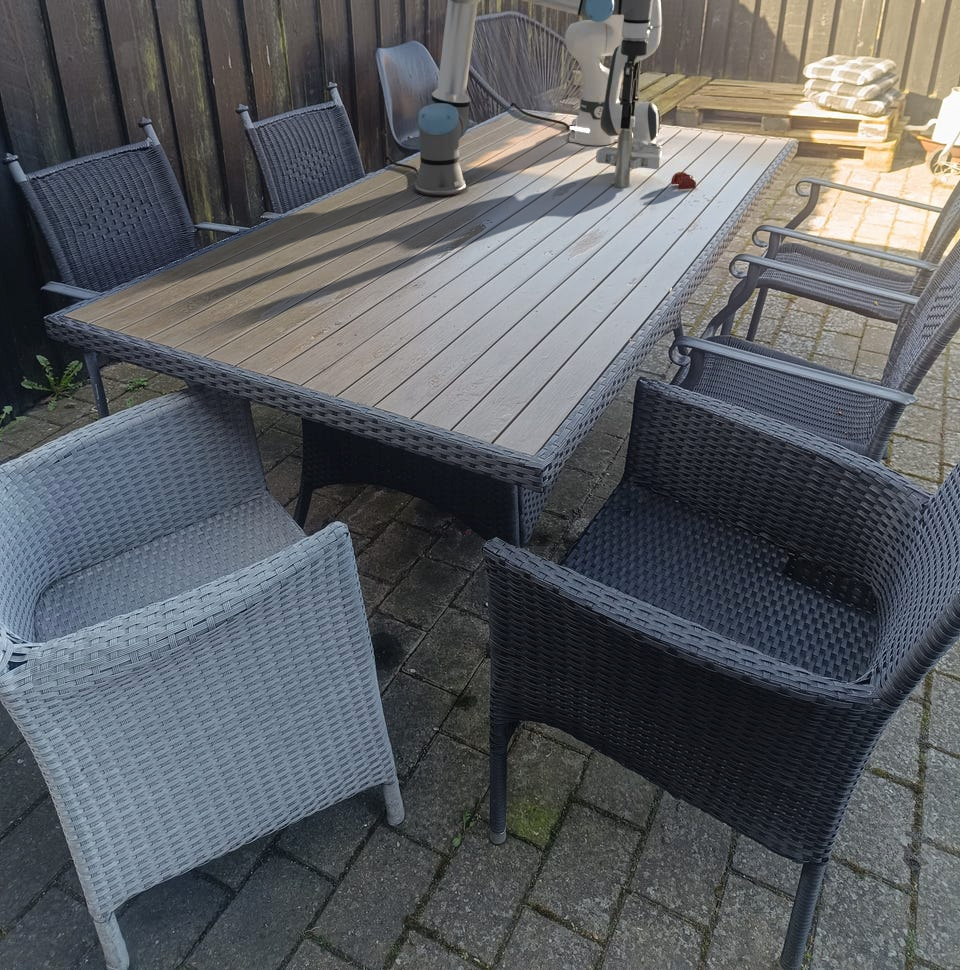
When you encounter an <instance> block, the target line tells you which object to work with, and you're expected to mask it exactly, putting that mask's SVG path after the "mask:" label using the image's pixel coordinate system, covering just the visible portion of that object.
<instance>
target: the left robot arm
mask: <svg viewBox="0 0 960 970" xmlns="http://www.w3.org/2000/svg"><path fill="white" fill-rule="evenodd" d="M481 1H482V0H447V3H446V11H445V18H444V29H443V38H442V46H441V47H442V48H441V54H440V65H439V72H438V73H439V74H438V83H437V88H436V89H435V90H433V92H431V101H430V104H429V105H425V106H423V107H422V108H420V110H419V112H418V119H417V123H418V134H419V135H418V136H419V138H418V139H419V157H420V158H419V159H420V161H419V162H420V164H419V168H417V167H415V166H412V165H408V164H405V163H398V162H396V161H394V160H393V159H392V157H391V156H390V155H388V156H386V157H385V160H386V161H389V163H390V164H392V165H394V166H398V167H402V168H407V169H411V170H412V171H413V170H414V172H415V173H416V175H417V176H416V180H415V183H414V184H415V185H414V186H415V192H417V193H418V194H420V195H424V196H430V197H450V196H455V195H459V194H461V193H463V192H464V191H466V181H465V179H464V176H463V172H462V169H461V165H460V144H459V143H460V140H461V138H463V136H464V135H465V134H466V133H467V131H468V128H469V125H470V113H469V111H470V110H469V109H470V101H471V99H470V97H469V95H468V94H467V87H468V79H469V71H470V64H471V57H472V49H473V48H472V47H473V42H474V41H473V40H474V33H475V27H476V26H475V25H476V19H477V18H476V17H477V10H478V4H479V3H480V2H481ZM521 2H525V3H531V4H533V5H537V6H542V7H545V8H550V9H553V10H557V11H560V12H565V13H569V14H573V15H576V16H579V17H582V18H586V19H588V20H592V21H594V22H603V21H605V20H607V19H608V18H609V17H610V16H611V15H624V21H623V30H622V37H623V38H624V39H623V40H622V44H621V54H623V55H627V56H628V58H627V62H625V67H624V69H623V70H624V73H623V77H622V90H621V100H620V105H622V116H621V127H620V128H624V129H630V122H631V116H634V113H635V103H636V102H639V85H640V76H641V68H642V63H643V62H642V60H641V61H640V56H644V55H646V54H647V51H648V40H646V39H647V38H648V37H649V30H651V29H652V27H651V26H649V25H650V20H651V12H652V3H653V0H521Z"/></svg>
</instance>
